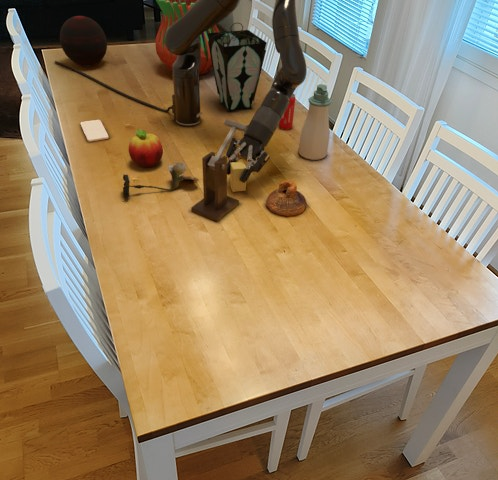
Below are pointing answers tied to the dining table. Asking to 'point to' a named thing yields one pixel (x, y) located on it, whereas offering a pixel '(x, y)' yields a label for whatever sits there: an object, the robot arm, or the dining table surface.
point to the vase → (170, 16)
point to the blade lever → (226, 140)
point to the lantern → (236, 66)
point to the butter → (237, 176)
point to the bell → (286, 200)
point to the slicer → (215, 191)
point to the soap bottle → (316, 126)
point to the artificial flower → (175, 172)
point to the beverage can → (288, 115)
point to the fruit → (145, 149)
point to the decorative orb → (83, 41)
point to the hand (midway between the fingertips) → (234, 177)
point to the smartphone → (94, 130)
